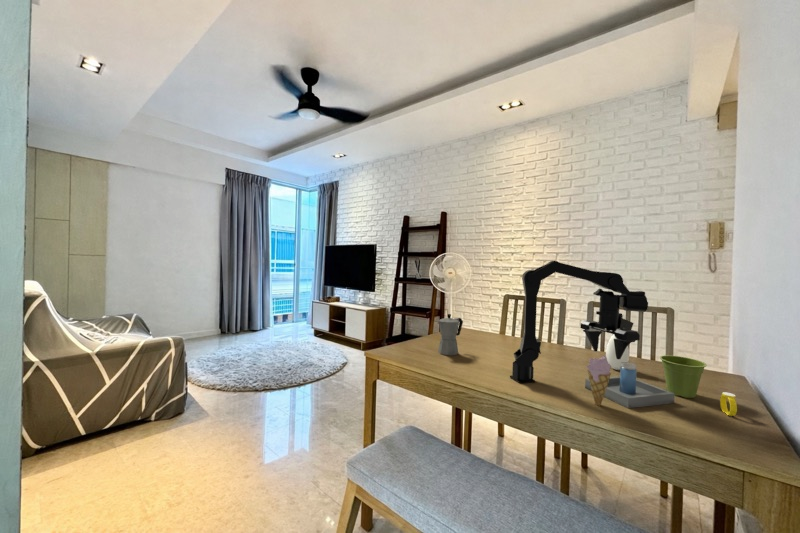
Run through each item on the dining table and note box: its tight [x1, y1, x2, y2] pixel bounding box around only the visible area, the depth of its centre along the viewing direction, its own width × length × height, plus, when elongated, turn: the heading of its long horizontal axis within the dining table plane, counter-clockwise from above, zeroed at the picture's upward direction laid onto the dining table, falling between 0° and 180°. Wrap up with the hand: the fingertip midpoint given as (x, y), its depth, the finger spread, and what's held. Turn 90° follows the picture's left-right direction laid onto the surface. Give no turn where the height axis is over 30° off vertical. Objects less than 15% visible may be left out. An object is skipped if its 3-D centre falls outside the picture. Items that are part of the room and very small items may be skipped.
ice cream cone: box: [586, 355, 612, 407], centre depth 100 cm, size 7×6×15 cm
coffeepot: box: [437, 313, 464, 356], centre depth 153 cm, size 15×9×18 cm, turn 126°
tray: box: [584, 375, 676, 409], centre depth 108 cm, size 18×16×3 cm
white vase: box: [605, 334, 630, 371], centre depth 134 cm, size 8×8×18 cm
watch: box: [719, 391, 738, 417], centre depth 96 cm, size 6×3×6 cm, turn 157°
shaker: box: [619, 361, 638, 395], centre depth 108 cm, size 4×4×9 cm
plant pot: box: [659, 354, 708, 399], centre depth 110 cm, size 12×12×11 cm
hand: (606, 355), depth 113 cm, fingers open, 9 cm apart
